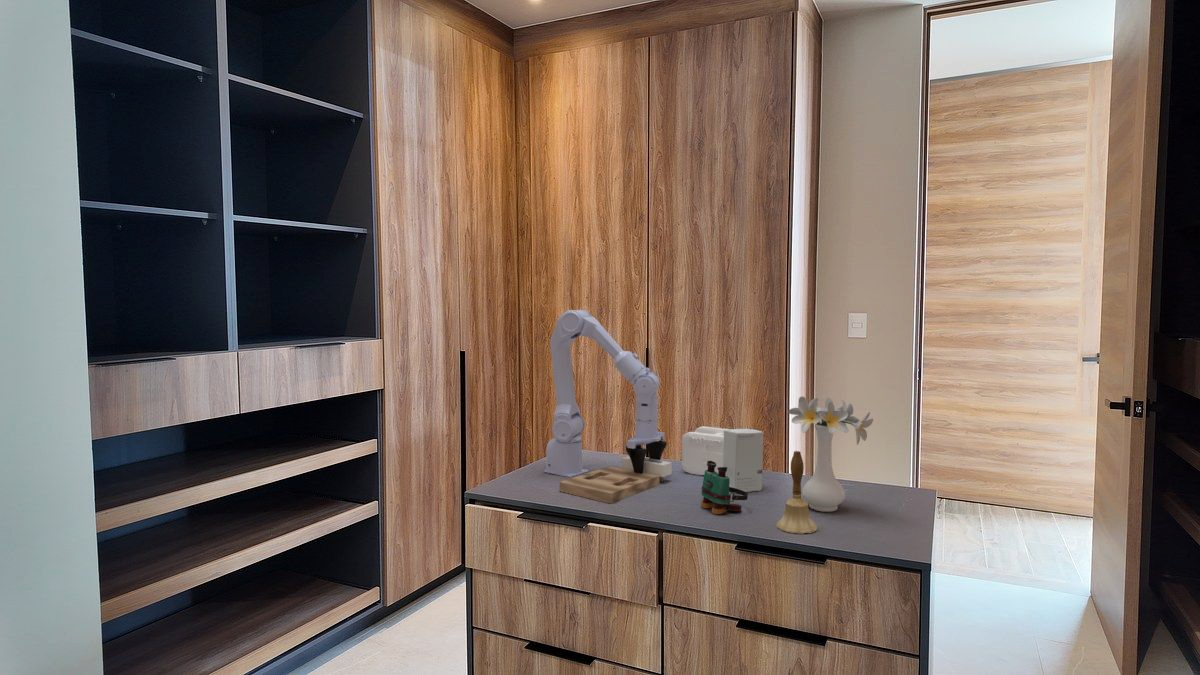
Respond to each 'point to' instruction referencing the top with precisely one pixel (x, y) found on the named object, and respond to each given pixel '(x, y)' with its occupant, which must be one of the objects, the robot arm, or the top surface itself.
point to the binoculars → (719, 490)
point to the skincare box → (743, 458)
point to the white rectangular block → (650, 467)
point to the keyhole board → (609, 484)
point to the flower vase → (826, 448)
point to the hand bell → (797, 504)
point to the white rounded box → (702, 449)
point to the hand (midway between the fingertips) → (646, 471)
